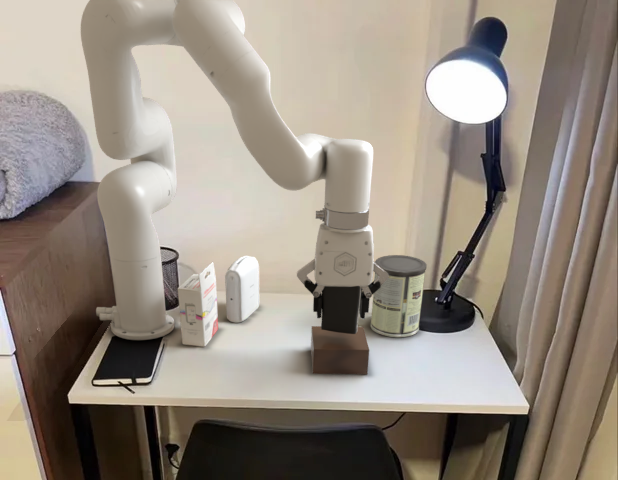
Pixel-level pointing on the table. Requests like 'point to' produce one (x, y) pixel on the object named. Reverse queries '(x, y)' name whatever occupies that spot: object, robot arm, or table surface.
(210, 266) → the ink cartridge box
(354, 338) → the block
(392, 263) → the coffee can
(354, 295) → the black rounded block
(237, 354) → the table surface
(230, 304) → the photo printer
